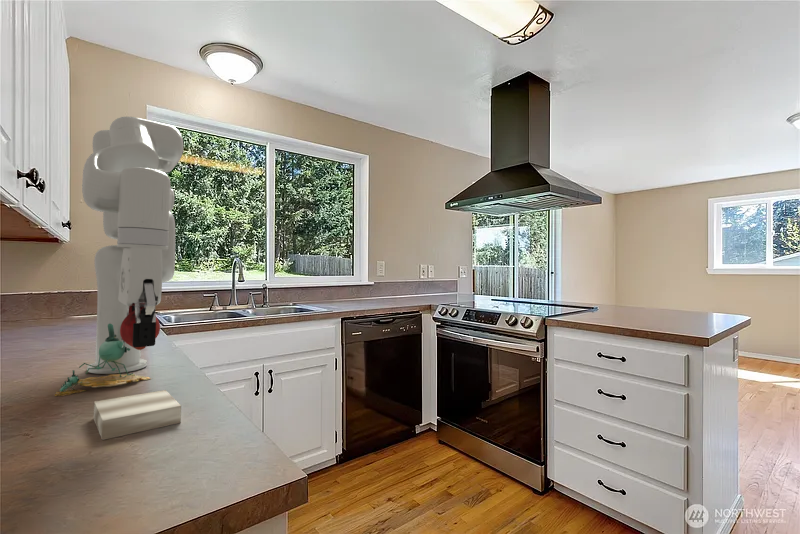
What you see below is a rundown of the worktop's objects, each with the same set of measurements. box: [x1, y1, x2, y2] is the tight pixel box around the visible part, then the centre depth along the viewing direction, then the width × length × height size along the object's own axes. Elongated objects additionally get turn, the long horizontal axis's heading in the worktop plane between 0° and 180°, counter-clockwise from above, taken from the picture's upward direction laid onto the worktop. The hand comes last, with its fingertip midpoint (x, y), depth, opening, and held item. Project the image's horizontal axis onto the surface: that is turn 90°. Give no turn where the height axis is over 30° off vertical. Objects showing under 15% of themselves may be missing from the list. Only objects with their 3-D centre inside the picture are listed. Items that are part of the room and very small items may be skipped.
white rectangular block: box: [93, 389, 182, 441], centre depth 69 cm, size 11×11×3 cm
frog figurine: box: [54, 324, 152, 397], centre depth 88 cm, size 10×18×15 cm, turn 137°
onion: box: [120, 309, 161, 350], centre depth 69 cm, size 6×6×8 cm
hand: (139, 342), depth 69 cm, fingers closed on onion, 5 cm apart
